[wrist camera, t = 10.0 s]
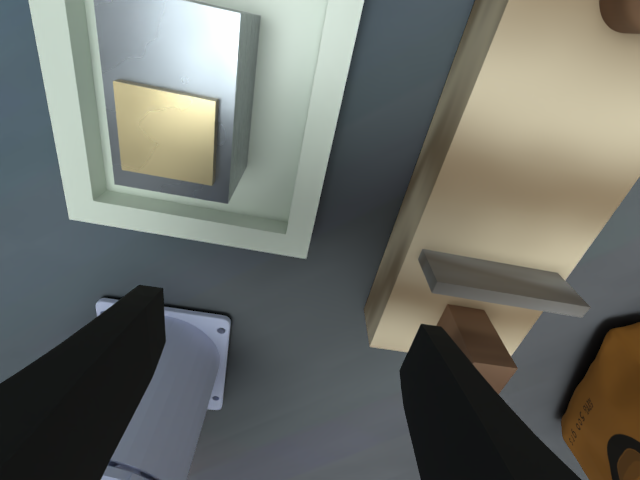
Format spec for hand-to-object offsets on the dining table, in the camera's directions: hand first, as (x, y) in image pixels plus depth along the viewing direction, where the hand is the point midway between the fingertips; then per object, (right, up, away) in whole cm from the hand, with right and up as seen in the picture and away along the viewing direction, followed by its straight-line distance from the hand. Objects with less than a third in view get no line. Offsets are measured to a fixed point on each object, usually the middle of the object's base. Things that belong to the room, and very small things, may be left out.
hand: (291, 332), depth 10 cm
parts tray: (-4, +9, +5) cm, 11 cm away
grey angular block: (-4, +9, +5) cm, 11 cm away
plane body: (+10, +6, +7) cm, 13 cm away
